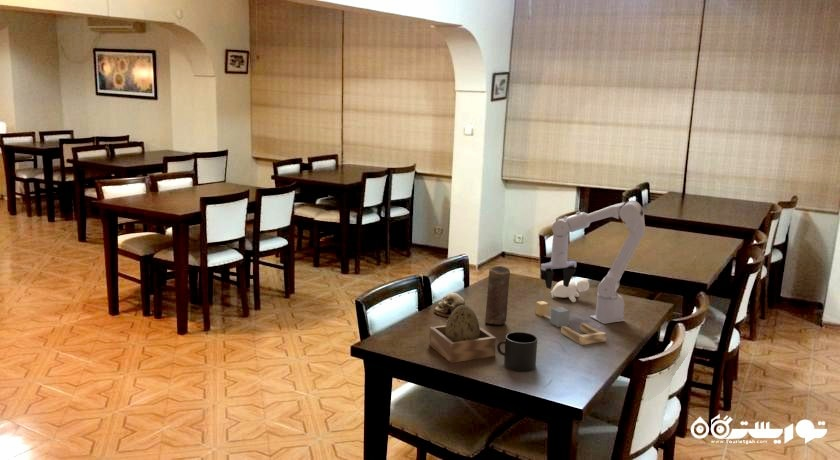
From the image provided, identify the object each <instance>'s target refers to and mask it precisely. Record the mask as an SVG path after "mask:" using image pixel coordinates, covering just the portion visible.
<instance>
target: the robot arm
mask: <svg viewBox="0 0 840 460" xmlns="http://www.w3.org/2000/svg"><path fill="white" fill-rule="evenodd" d="M608 218H615V219H617V220H619V219H621V220H622V222H624V223H625V224H626V226H627V227H626V228H627V229H628V231H629V233H628V235H627V237H626V239H625V240H624V242H623V243H622V244H623V245H622V246H621V248H620V250H619V252H618V254H617V256H616V258H615V259H614V262H613V263H612V264H611V267H610V268H609V270H608V272H607V274H606V275H605V276H604V277H603V278H602V279H601V280H600V281H601V282H599V283H598V285H597V289H596V290H597V295H596V296H597V297H596V308H595V314H594V315H593V314H592V315H590V316H589V317H590V318H591V319H593V320H595V321H597V322H599V323H601V324H604V325H605V324H611V323H618V322H625V319H624V311H625V300H624V298H623V296H622V295H621V294H618V292H617V290H619V287H620V281H621V278H622V276H623V275H624V273H625V270H626V269H627V266H628V264H630V261H631V259H632V257H633V256H634V254H635V252H636V250H637V248H638V246H639V244H640V242H641V241H642V239H643V237H644V235H645V234H646V224H645V223H646V222H645V211H644V208H643V207H642V205H641V204H640V203H639V202H638V201H636V200H629V201H625V202H620V203H615V204H613V205H609V206H607V207H603V208H602V209H599V210H595V211H593V212H590V213H587V212H585V211H582V212H581V211H577V212H575V214H573V215H569V216H567V215H566V216H564V217H563V218H559V219H558V220H556V221H555V222H554V223H553V224H552V226H551V231H552V233H553V236H552V243H551V244H552V247H551V257H550V258H551V259H550V261H549V262H545V263H540V271H541V273H542V275H543V278H544V281H545V287H546V289H549V290H551V289H552V285H553V279H554V274H555V271H553V270H555V269H562V273H563V275H562V276H563V280H562V281H563V285H564V286H566V287H568V285H569V282H570V281H572V277H573V276H574V274H575V273H576V271H577V269H576V268H577V263H578V262H577V261H575V260H568V256H569V253H568V252H569V236H570V234H569V233H573V232H577V231H580V230H583V229H586V228H589V227H590V224H591V223H593V222H597V221H601V220H604V219H608Z"/></svg>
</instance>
